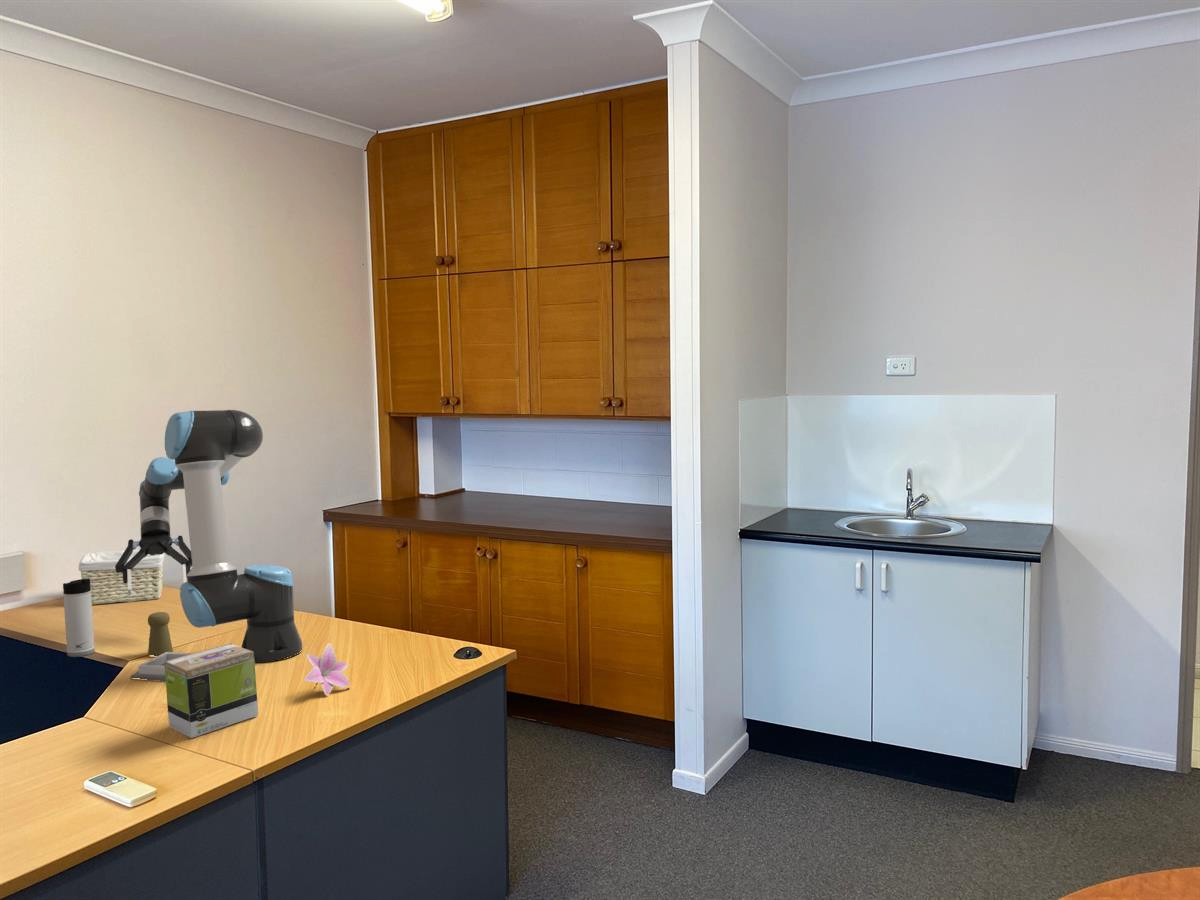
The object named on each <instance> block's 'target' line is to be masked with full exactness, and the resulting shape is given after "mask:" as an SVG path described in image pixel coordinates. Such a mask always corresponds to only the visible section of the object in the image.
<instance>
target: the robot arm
mask: <svg viewBox="0 0 1200 900" xmlns="http://www.w3.org/2000/svg"><path fill="white" fill-rule="evenodd" d="M263 437H264V435H263V429H262V427H261V425H260V423H259V422H258V421H257V419H255V417H253V416H252V415H250V414H248V413H247V412H244V411H242V410H236V409H227V410H226V409H224V410H222V409H221V410H218V409H217V410H187V411H180V412H175V413H173V414H172V415H170V417H169V419H168V421H167V424H166V427H165V433H164V451H165V454H166V457H164V456H159V457H156V458H154V459H152V460H151V461H150V463H149V465H148V467H147V469H146V473H145V478H144V480H142V481H141V482H140V485H139V491H138V496H139V509H140V514H139V515H140V516H139V518H140V540H134V539H132V538H131V539H129V540H128V542H127V547H126V548H125V551H124V553H123V554H122V556H121V558H120V559H119V561H118V562H117V564H116V566H115V570H116V573H123V582H124V583H128V595H132V594H131V570H132V569H133V568H134V567H135V566H136V565H137V564H138V563H139V562H140V561H141V560H142V559H143V558H145V557H146V556H147V555H148V554H149V555H156V554H159V555H161V554H163V553H165V555H167V556H168V557H171V558H172V559H173V560H174V561H176V562H177V563H179V564H180V565H181V566H182V579H183V581H182V582H183V583H182V584H181V585H180V588H179V590H180V591H179V596H180V602H181V607H182V610H183V612H184V615H185V616H186V619H187V620H188V622H189V624H191V625H192V626H193V627H195V628H206V627H207V628H208V627H216V626H217V625H224V624H229V623H233V622H234V623H235V622H239V621H245V620H246V630H245V633H244V637H243V639H242V642H241V643H242V644H241V646H240V647H242V648H244V649H247V650H250V651H253V652H254V661H255V663H256V662H257V663H266V662H268V661H270V662H274V661H273V660H278V661H280V660H279V659H283V660H285V659H284V658H287V657H290V656H293V655H295V654H297V653H299V652H300V651H301V650H302V651H303V641H302V638H301V636H300V633H299V631H298V628H297V626H296V623H295V609H294V608H295V607H294V586H295V585H294V582H293V574H292V571H291V569H289V568H288V567H285V566H281V565H274V564H254V565H248V566H246V567H245V568H244V570H243V573H240V574H238V568H237V567H236V566H235V565H233V564H232V563H231V561H230V556H229V545H228V535H227V534H228V533H227V527H226V526H227V525H226V517H225V508H224V497H223V491H222V490H223V488H222V486H225V485H227V484H228V482H229V480H230V471H231V470H232V469H233V468H234V467H235V466H236V465H237V464H238V463H240V461H242V459H244V458H249V457H250V456H252V455H253V454H255V453H256V452H257V451H258V449H260V447H261V445H262V443H263ZM174 490H184V498H185V505H186V506H185V507H186V516H187V527H188V534H189V535H188V536H189V543H190V544H189V545H190V548H189V547H188V545H186V543H185V542H184V538H183V536H182V535H178V536H177V537H175V538H174V537H173V538H172V537H171V526H170V524H171V523H170V507H169V506H170V504H169V503H170V496H171V493H172V491H174ZM173 544H174V545H175V546H177V547H179V550H180V551H181V552H182V553H183V554H184V555H183V554H182V553H180V552H179V551H177V550H176V549H175V548H174V547H173V546H172V545H173ZM137 547H139V548H140V550H139V552H138V553H137V554H136V555H135V556H134V557H133V558H132V559H131V560H130V561H128V562H127V560H128V559H129V557H130V556H131V554H132V552H133V550H137ZM126 562H127V563H126ZM302 651H301V652H302ZM301 652H300V653H301ZM300 653H299V654H300ZM297 655H298V654H297ZM295 656H296V655H295ZM293 657H294V656H293ZM290 658H291V657H290ZM287 659H288V658H287Z"/></svg>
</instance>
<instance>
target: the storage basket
mask: <svg viewBox="0 0 1200 900" xmlns="http://www.w3.org/2000/svg"><path fill="white" fill-rule="evenodd" d="M140 549H141V548H140ZM140 549H139V548H138V549H137V548H136V549H135V550H133V552H132V554H131V556H130V557H129V559H128V560H127V562H128V561H130V560H131V559H132V558H133V557H134V556H135V555H136V554H137V553H138V552H139V550H140ZM125 550H126V549H125ZM125 550H123V549H122V550H108V551H107V550H106V551H98V552H97V551H95V552H87V553H86V554H85V555H83V556H82V557H81V559H80V561H79V563H78V571H79V572H80V577H81V579H90V589H91V601H92V606H94V605H100V604H102V605H103V604H114V603H124V602H125V603H131V602H137V601H149V600H150V601H151V600H157V599H160V598H161V595H162V592H163V583H164V582H163V578H164V574H163V573H164V560H165V555H166V553H163V554H161V555H159V554H156V555H149V554H148V555H147V556H146V557H145V558H143V559H142V560H141V561H140V562H139V563H138V564H137V565H136V566H135V567H134V568H133V569H132V570H131V594H132V595H128V583H124V582H123V573H116V570H115V566H116V564H117V562H118V561H119V559H120V558H121V556H122V554H123V553H124V551H125ZM127 562H126V563H127Z"/></svg>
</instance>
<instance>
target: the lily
mask: <svg viewBox="0 0 1200 900" xmlns="http://www.w3.org/2000/svg"><path fill="white" fill-rule="evenodd" d="M306 658H307V660H308V661H309V662H310V664H311V665H312V667H313V668H312V669H311V670H310V671H309V672H307V675H306V676H305V677H304V681H305V682H309V683H316V684H315V685H317V686H318V685H319V683H321V687H322V690H323V693H324V696H325V695H326V694H328V693H330V694H331V693H332V690H333V688H334V686H335V687H339V688H342V689H345V688H344V687H346V686H348V685H351V683H350V681H349V679H348V677H347V676H346V675H345V674H344V673H343V671H345V670H346V668H347V667H348V665H349V663H348V662H347V661H343V660H342V661H341V660H340V661H339V660H337V656H336V653H335V650H334V648H333V645H332V644H331V643H330V642H328V643H327V644H326V646H325V648H324V649H323V652H322V654H321V656H320V657H319V656H316V655H313V654H311V653H310V654H309V653H307V654H306ZM351 686H352V685H351Z"/></svg>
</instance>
